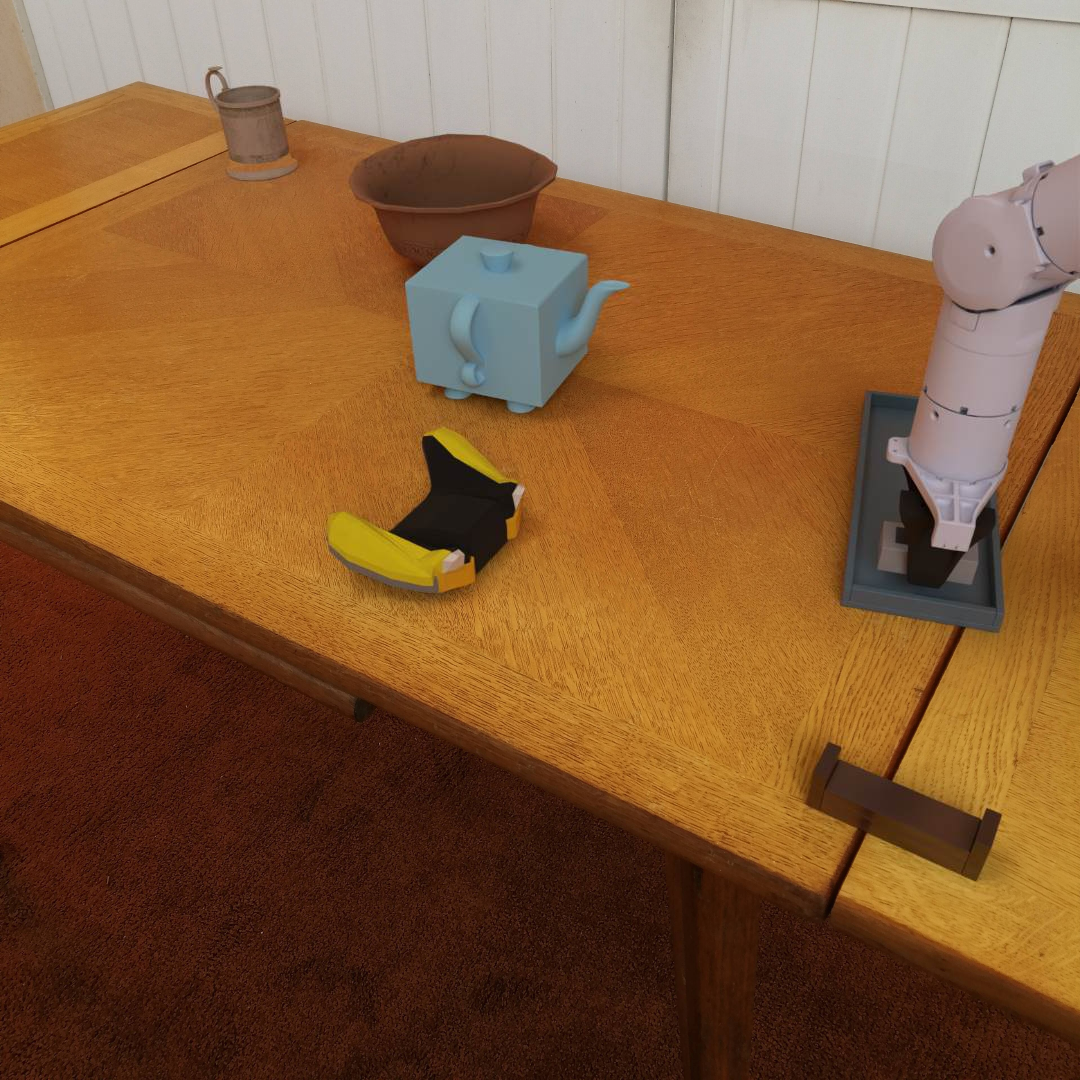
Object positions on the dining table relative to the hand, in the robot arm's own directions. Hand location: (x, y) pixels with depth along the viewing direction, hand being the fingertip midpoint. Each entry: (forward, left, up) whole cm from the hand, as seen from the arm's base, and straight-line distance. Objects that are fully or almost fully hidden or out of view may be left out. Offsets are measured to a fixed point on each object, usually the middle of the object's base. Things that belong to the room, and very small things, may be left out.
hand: (924, 565), depth 68 cm
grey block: (0, 0, 0) cm, 0 cm away
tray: (0, -10, -2) cm, 10 cm away
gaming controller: (+34, +4, -2) cm, 34 cm away
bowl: (+49, -42, -2) cm, 65 cm away
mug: (+90, -66, -2) cm, 112 cm away
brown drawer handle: (+1, +20, -2) cm, 20 cm away
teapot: (+34, -19, -2) cm, 39 cm away
